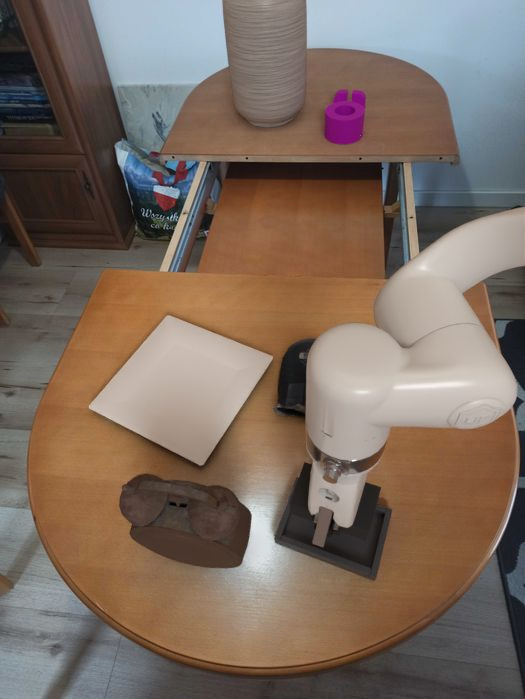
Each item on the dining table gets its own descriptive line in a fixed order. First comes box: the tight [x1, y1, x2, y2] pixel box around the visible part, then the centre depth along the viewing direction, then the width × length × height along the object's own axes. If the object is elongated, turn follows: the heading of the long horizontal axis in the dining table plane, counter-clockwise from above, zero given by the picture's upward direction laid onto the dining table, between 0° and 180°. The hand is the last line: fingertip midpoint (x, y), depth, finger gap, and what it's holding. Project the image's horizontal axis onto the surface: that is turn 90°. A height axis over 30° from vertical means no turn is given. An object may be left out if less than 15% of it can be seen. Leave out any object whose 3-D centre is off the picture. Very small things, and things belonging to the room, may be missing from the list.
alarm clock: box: [118, 473, 253, 569], centre depth 60 cm, size 15×7×20 cm, turn 78°
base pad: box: [273, 476, 393, 582], centre depth 67 cm, size 14×9×2 cm
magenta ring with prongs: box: [323, 89, 367, 145], centre depth 129 cm, size 16×10×6 cm, turn 166°
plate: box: [88, 314, 274, 466], centre depth 83 cm, size 22×22×2 cm
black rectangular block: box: [290, 461, 382, 541], centre depth 59 cm, size 10×6×4 cm, turn 68°
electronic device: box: [271, 337, 317, 419], centre depth 81 cm, size 9×6×15 cm
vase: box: [221, 0, 308, 128], centre depth 125 cm, size 20×20×34 cm
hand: (334, 503), depth 60 cm, fingers closed on black rectangular block, 5 cm apart
